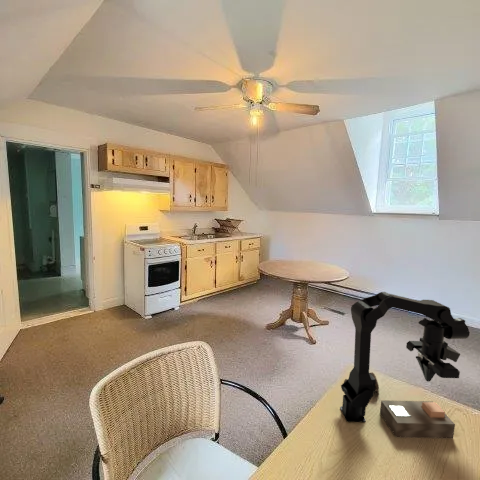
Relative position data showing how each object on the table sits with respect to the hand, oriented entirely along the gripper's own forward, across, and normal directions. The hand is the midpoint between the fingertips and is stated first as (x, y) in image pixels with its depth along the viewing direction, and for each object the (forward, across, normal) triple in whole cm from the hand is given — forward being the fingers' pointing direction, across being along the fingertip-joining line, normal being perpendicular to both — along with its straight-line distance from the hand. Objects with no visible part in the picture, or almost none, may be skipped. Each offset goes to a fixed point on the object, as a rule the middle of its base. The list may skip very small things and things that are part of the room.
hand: (427, 380), depth 97 cm
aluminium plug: (+12, -6, +12) cm, 18 cm away
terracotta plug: (+10, -6, +1) cm, 12 cm away
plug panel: (+12, -6, +7) cm, 15 cm away
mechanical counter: (+12, +12, +17) cm, 24 cm away
